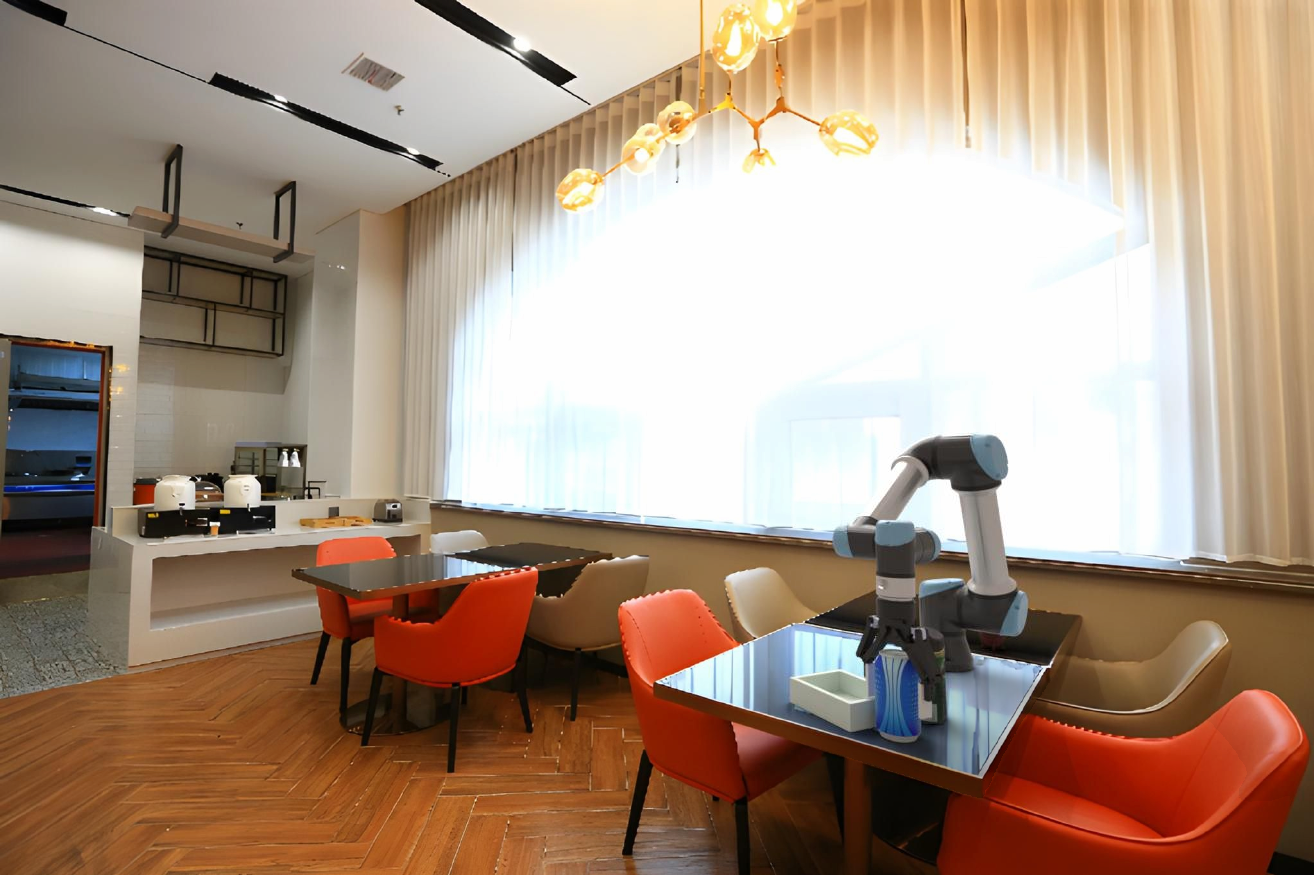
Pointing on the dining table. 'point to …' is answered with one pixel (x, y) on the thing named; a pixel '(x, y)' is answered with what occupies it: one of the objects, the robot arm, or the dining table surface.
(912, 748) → the dining table surface
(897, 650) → the beer can
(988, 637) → the mate gourd
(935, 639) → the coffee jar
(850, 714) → the tote
